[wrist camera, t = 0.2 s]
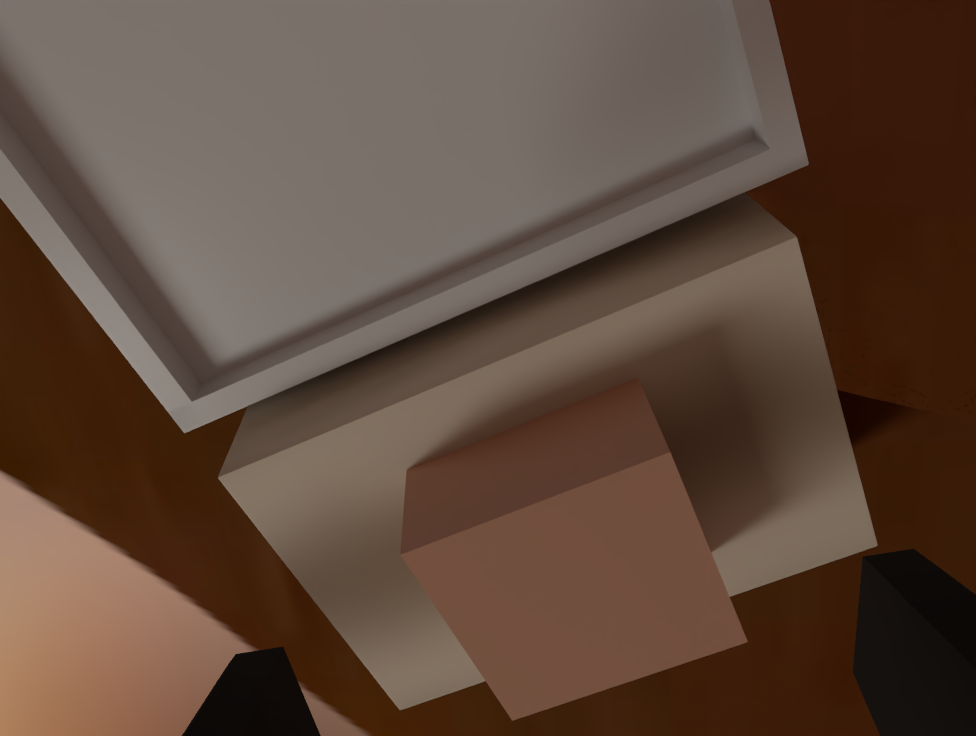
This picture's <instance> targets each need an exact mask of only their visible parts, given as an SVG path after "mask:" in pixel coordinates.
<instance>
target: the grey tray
mask: <svg viewBox="0 0 976 736" xmlns="http://www.w3.org/2000/svg"><path fill="white" fill-rule="evenodd" d="M807 165H809V163H808V159H807V155H806V151H805V146H804V142H803V138H802V134H801V130H800V126H799V122H798V117H797V113H796V109H795V105H794V101H793V97H792V93H791V89H790V84H789V80H788V76H787V72H786V68H785V64H784V60H783V55H782V51H781V47H780V43H779V39H778V35H777V31H776V26H775V22H774V18H773V14H772V10H771V6H770V2H769V0H0V198H1V199H2V200H3V202H4V203H5V204H6V205H7V207H8V208H9V209H10V210H11V212H12V213H13V214H14V216H15V217H16V218H17V219H18V221H19V222H20V223H21V225H22V226H23V227H24V228H25V230H26V231H27V232H28V234H29V235H30V236H31V237H32V239H33V240H34V241H35V242H36V244H37V245H38V246H39V248H40V249H41V250H42V251H43V253H44V254H45V255H46V257H47V258H48V259H49V260H50V262H51V263H52V264H53V266H54V267H55V268H56V269H57V271H58V272H59V273H60V274H61V276H62V277H63V278H64V280H65V281H66V282H67V283H68V285H69V286H70V287H71V289H72V290H73V291H74V292H75V294H76V295H77V296H78V298H79V299H80V300H81V301H82V303H83V304H84V305H85V306H86V308H87V309H88V310H89V312H90V313H91V314H92V315H93V317H94V318H95V319H96V321H97V322H98V323H99V324H100V326H101V327H102V328H103V329H104V331H105V332H106V333H107V335H108V336H109V337H110V338H111V340H112V341H113V342H114V344H115V345H116V346H117V347H118V349H119V350H120V351H121V353H122V354H123V355H124V356H125V358H126V359H127V360H128V361H129V363H130V364H131V365H132V367H133V368H134V369H135V370H136V372H137V373H138V374H139V376H140V377H141V378H142V379H143V381H144V382H145V383H146V385H147V386H148V387H149V388H150V390H151V391H152V392H153V393H154V395H155V396H156V397H157V399H158V400H159V401H160V402H161V404H162V405H163V406H164V408H165V409H166V410H167V411H168V413H169V414H170V415H171V416H172V418H173V419H174V420H175V422H176V423H177V424H178V425H179V427H180V428H181V429H182V431H183V432H184V433H186V432H188V431H191V430H193V429H195V428H198V427H200V426H202V425H205V424H207V423H209V422H212V421H214V420H216V419H219V418H221V417H223V416H225V415H228V414H230V413H232V412H235V411H237V410H239V409H242V408H244V407H246V406H249V405H251V404H253V403H256V402H258V401H260V400H263V399H265V398H267V397H270V396H272V395H274V394H277V393H279V392H281V391H284V390H286V389H288V388H291V387H293V386H295V385H298V384H300V383H302V382H304V381H307V380H309V379H311V378H314V377H316V376H318V375H321V374H323V373H325V372H328V371H330V370H332V369H335V368H337V367H339V366H342V365H344V364H346V363H349V362H351V361H353V360H356V359H358V358H360V357H363V356H365V355H367V354H370V353H372V352H374V351H377V350H379V349H381V348H384V347H386V346H388V345H390V344H393V343H395V342H397V341H400V340H402V339H404V338H407V337H409V336H411V335H414V334H416V333H418V332H421V331H423V330H425V329H428V328H430V327H432V326H435V325H437V324H439V323H442V322H444V321H446V320H449V319H451V318H453V317H456V316H458V315H460V314H463V313H465V312H467V311H470V310H472V309H474V308H476V307H479V306H481V305H483V304H486V303H488V302H490V301H493V300H495V299H497V298H500V297H502V296H504V295H507V294H509V293H511V292H514V291H516V290H518V289H521V288H523V287H525V286H528V285H530V284H532V283H535V282H537V281H539V280H542V279H544V278H546V277H549V276H551V275H553V274H556V273H558V272H560V271H562V270H565V269H567V268H569V267H572V266H574V265H576V264H579V263H581V262H583V261H586V260H588V259H590V258H593V257H595V256H597V255H600V254H602V253H604V252H607V251H609V250H611V249H614V248H616V247H618V246H621V245H623V244H625V243H628V242H630V241H632V240H635V239H637V238H639V237H642V236H644V235H646V234H648V233H651V232H653V231H655V230H658V229H660V228H662V227H665V226H667V225H669V224H672V223H674V222H676V221H679V220H681V219H683V218H686V217H688V216H690V215H693V214H695V213H697V212H700V211H702V210H704V209H707V208H709V207H711V206H714V205H716V204H718V203H721V202H723V201H725V200H728V199H730V198H732V197H734V196H737V195H739V194H741V193H744V192H746V191H748V190H751V189H753V188H755V187H758V186H760V185H762V184H765V183H767V182H769V181H772V180H774V179H776V178H779V177H781V176H783V175H786V174H788V173H790V172H793V171H795V170H797V169H800V168H802V167H804V166H807Z"/></svg>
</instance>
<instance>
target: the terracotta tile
mask: <svg viewBox="0 0 976 736" xmlns="http://www.w3.org/2000/svg"><path fill="white" fill-rule="evenodd" d="M400 555H401V557H402V558H403V560H404V561H405V563H406V564H407V566H408V567H409V569H410V570H411V572H412V573H413V574H414V576H415V577H416V579H417V580H418V582H419V583H420V585H421V586H422V588H423V589H424V591H425V592H426V594H427V595H428V597H429V598H430V600H431V601H432V603H433V604H434V605H435V607H436V608H437V610H438V611H439V613H440V614H441V616H442V617H443V619H444V620H445V622H446V623H447V625H448V626H449V628H450V629H451V631H452V632H453V634H454V635H455V636H456V638H457V639H458V641H459V642H460V644H461V645H462V647H463V648H464V650H465V651H466V653H467V654H468V656H469V657H470V659H471V660H472V662H473V663H474V665H475V666H476V668H477V669H478V670H479V672H480V673H481V675H482V676H483V678H484V679H485V681H486V682H487V684H488V685H489V687H490V688H491V690H492V691H493V693H494V694H495V696H496V697H497V699H498V700H499V701H500V703H501V704H502V706H503V707H504V709H505V710H506V712H507V713H508V715H509V716H510V718H511V719H512V721H513V720H516V719H519V718H522V717H525V716H528V715H531V714H534V713H537V712H540V711H543V710H546V709H549V708H552V707H555V706H558V705H561V704H564V703H567V702H570V701H573V700H576V699H578V698H581V697H584V696H587V695H590V694H593V693H596V692H599V691H602V690H605V689H608V688H611V687H614V686H617V685H620V684H623V683H626V682H629V681H632V680H635V679H638V678H641V677H644V676H647V675H650V674H653V673H656V672H659V671H662V670H665V669H668V668H671V667H674V666H677V665H680V664H683V663H686V662H689V661H692V660H695V659H698V658H701V657H704V656H707V655H710V654H713V653H716V652H719V651H722V650H725V649H728V648H731V647H734V646H737V645H740V644H743V643H746V642H748V641H747V639H746V637H745V634H744V632H743V629H742V627H741V624H740V622H739V619H738V617H737V614H736V612H735V610H734V607H733V605H732V602H731V600H730V597H729V595H728V592H727V590H726V587H725V585H724V583H723V580H722V578H721V575H720V573H719V570H718V568H717V565H716V563H715V560H714V558H713V556H712V553H711V551H710V548H709V546H708V543H707V541H706V538H705V536H704V533H703V531H702V528H701V526H700V524H699V521H698V519H697V516H696V514H695V511H694V509H693V506H692V504H691V501H690V499H689V497H688V494H687V492H686V489H685V487H684V484H683V482H682V479H681V477H680V474H679V472H678V470H677V467H676V465H675V462H674V460H673V457H672V455H671V452H670V450H669V448H668V445H667V443H666V441H665V439H664V436H663V434H662V432H661V429H660V427H659V425H658V422H657V420H656V418H655V416H654V413H653V411H652V409H651V406H650V404H649V402H648V400H647V397H646V395H645V393H644V390H643V388H642V386H641V383H640V381H639V379H638V378H635V379H633V380H630V381H628V382H625V383H623V384H620V385H618V386H615V387H613V388H610V389H608V390H605V391H603V392H600V393H598V394H595V395H593V396H590V397H588V398H585V399H583V400H580V401H578V402H575V403H573V404H570V405H568V406H565V407H563V408H560V409H558V410H555V411H553V412H550V413H548V414H545V415H543V416H540V417H538V418H535V419H533V420H530V421H528V422H525V423H523V424H520V425H518V426H515V427H513V428H510V429H508V430H505V431H503V432H500V433H498V434H495V435H493V436H490V437H488V438H485V439H483V440H480V441H478V442H475V443H473V444H470V445H468V446H465V447H463V448H460V449H458V450H455V451H453V452H450V453H448V454H445V455H443V456H440V457H438V458H435V459H432V460H430V461H427V462H425V463H422V464H420V465H417V466H415V467H412V468H410V469H407V471H406V484H405V498H404V511H403V524H402V538H401V551H400Z"/></svg>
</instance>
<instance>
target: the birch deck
mask: <svg viewBox="0 0 976 736" xmlns="http://www.w3.org/2000/svg"><path fill="white" fill-rule="evenodd" d="M635 378H638V379H639V381H640V383H641V386H642V388H643V390H644V393H645V395H646V397H647V400H648V402H649V404H650V406H651V409H652V411H653V413H654V416H655V418H656V420H657V422H658V425H659V427H660V429H661V432H662V434H663V436H664V439H665V441H666V443H667V445H668V448H669V450H670V452H671V455H672V457H673V460H674V462H675V465H676V467H677V470H678V472H679V474H680V477H681V479H682V482H683V484H684V487H685V489H686V492H687V494H688V497H689V499H690V501H691V504H692V506H693V509H694V511H695V514H696V516H697V519H698V521H699V524H700V526H701V528H702V531H703V533H704V536H705V538H706V541H707V543H708V546H709V548H710V551H711V553H712V556H713V558H714V560H715V563H716V565H717V568H718V570H719V573H720V575H721V578H722V580H723V583H724V585H725V587H726V590H727V592H728V595H729V597H730V596H733V595H736V594H739V593H742V592H745V591H748V590H751V589H753V588H756V587H759V586H762V585H765V584H768V583H771V582H774V581H777V580H780V579H782V578H785V577H788V576H791V575H794V574H797V573H800V572H803V571H806V570H809V569H811V568H814V567H817V566H820V565H823V564H826V563H829V562H832V561H835V560H838V559H840V558H843V557H846V556H849V555H852V554H855V553H858V552H861V551H864V550H867V549H869V548H872V547H875V546H878V545H877V542H876V538H875V534H874V530H873V526H872V522H871V519H870V515H869V511H868V507H867V503H866V500H865V496H864V492H863V488H862V484H861V480H860V477H859V473H858V469H857V465H856V461H855V458H854V454H853V450H852V446H851V442H850V438H849V435H848V431H847V427H846V423H845V419H844V416H843V412H842V408H841V404H840V400H839V396H838V393H837V389H836V385H835V381H834V377H833V374H832V370H831V366H830V362H829V358H828V354H827V351H826V347H825V343H824V339H823V335H822V332H821V328H820V324H819V320H818V316H817V312H816V309H815V305H814V301H813V297H812V293H811V290H810V286H809V282H808V278H807V274H806V270H805V267H804V263H803V259H802V255H801V251H800V248H799V244H798V240H797V237H796V236H795V235H794V234H793V233H792V232H790V231H789V230H788V229H787V228H786V227H785V226H783V225H782V224H781V223H780V222H779V221H778V220H776V219H775V218H774V217H773V216H772V215H771V214H769V213H768V212H767V211H766V210H765V209H764V208H762V207H761V206H760V205H759V204H758V203H756V202H755V201H754V200H753V199H752V198H751V197H749V196H748V195H747V194H746V193H745V192H744V193H741V194H739V195H737V196H734V197H732V198H730V199H728V200H725V201H723V202H721V203H718V204H716V205H714V206H711V207H709V208H707V209H704V210H702V211H700V212H697V213H695V214H693V215H690V216H688V217H686V218H683V219H681V220H679V221H676V222H674V223H672V224H669V225H667V226H665V227H662V228H660V229H658V230H655V231H653V232H651V233H648V234H646V235H644V236H642V237H639V238H637V239H635V240H632V241H630V242H628V243H625V244H623V245H621V246H618V247H616V248H614V249H611V250H609V251H607V252H604V253H602V254H600V255H597V256H595V257H593V258H590V259H588V260H586V261H583V262H581V263H579V264H576V265H574V266H572V267H569V268H567V269H565V270H562V271H560V272H558V273H556V274H553V275H551V276H549V277H546V278H544V279H542V280H539V281H537V282H535V283H532V284H530V285H528V286H525V287H523V288H521V289H518V290H516V291H514V292H511V293H509V294H507V295H504V296H502V297H500V298H497V299H495V300H493V301H490V302H488V303H486V304H483V305H481V306H479V307H476V308H474V309H472V310H470V311H467V312H465V313H463V314H460V315H458V316H456V317H453V318H451V319H449V320H446V321H444V322H442V323H439V324H437V325H435V326H432V327H430V328H428V329H425V330H423V331H421V332H418V333H416V334H414V335H411V336H409V337H407V338H404V339H402V340H400V341H397V342H395V343H393V344H390V345H388V346H386V347H384V348H381V349H379V350H377V351H374V352H372V353H370V354H367V355H365V356H363V357H360V358H358V359H356V360H353V361H351V362H349V363H346V364H344V365H342V366H339V367H337V368H335V369H332V370H330V371H328V372H325V373H323V374H321V375H318V376H316V377H314V378H311V379H309V380H307V381H304V382H302V383H300V384H298V385H295V386H293V387H291V388H288V389H286V390H284V391H281V392H279V393H277V394H274V395H272V396H270V397H267V398H265V399H263V400H260V401H258V402H256V403H253V404H251V405H249V406H248V407H247V410H246V412H245V415H244V417H243V419H242V422H241V424H240V426H239V429H238V431H237V433H236V436H235V438H234V440H233V443H232V445H231V448H230V450H229V452H228V455H227V457H226V459H225V462H224V464H223V466H222V469H221V471H220V474H219V476H218V479H219V480H220V481H221V482H222V484H223V485H224V486H225V488H226V489H227V490H228V491H229V493H230V494H231V495H232V496H233V498H234V499H235V500H236V502H237V503H238V504H239V505H240V507H241V508H242V509H243V511H244V512H245V513H246V514H247V516H248V517H249V518H250V519H251V521H252V522H253V523H254V525H255V526H256V527H257V528H258V530H259V531H260V532H261V534H262V535H263V536H264V537H265V539H266V540H267V541H268V542H269V544H270V545H271V546H272V548H273V549H274V550H275V551H276V553H277V554H278V555H279V557H280V558H281V559H282V560H283V562H284V563H285V564H286V565H287V567H288V568H289V569H290V571H291V572H292V573H293V574H294V576H295V577H296V578H297V580H298V581H299V582H300V583H301V585H302V586H303V587H304V588H305V590H306V591H307V592H308V594H309V595H310V596H311V597H312V599H313V600H314V601H315V603H316V604H317V605H318V606H319V608H320V609H321V610H322V611H323V613H324V614H325V615H326V617H327V618H328V619H329V620H330V622H331V623H332V624H333V626H334V627H335V628H336V629H337V631H338V632H339V633H340V634H341V636H342V637H343V638H344V640H345V641H346V642H347V643H348V645H349V646H350V647H351V649H352V650H353V651H354V652H355V654H356V655H357V656H358V657H359V659H360V660H361V661H362V663H363V664H364V665H365V666H366V668H367V669H368V670H369V671H370V673H371V674H372V675H373V677H374V678H375V679H376V680H377V682H378V683H379V684H380V686H381V687H382V688H383V689H384V691H385V692H386V693H387V694H388V696H389V697H390V698H391V700H392V701H393V702H394V703H395V705H396V706H397V707H398V709H399V710H403V709H406V708H408V707H411V706H414V705H417V704H420V703H423V702H426V701H429V700H432V699H435V698H437V697H440V696H443V695H446V694H449V693H452V692H455V691H458V690H461V689H464V688H466V687H469V686H472V685H475V684H478V683H481V682H484V681H485V679H484V678H483V676H482V675H481V673H480V672H479V670H478V669H477V668H476V666H475V665H474V663H473V662H472V660H471V659H470V657H469V656H468V654H467V653H466V651H465V650H464V648H463V647H462V645H461V644H460V642H459V641H458V639H457V638H456V636H455V635H454V634H453V632H452V631H451V629H450V628H449V626H448V625H447V623H446V622H445V620H444V619H443V617H442V616H441V614H440V613H439V611H438V610H437V608H436V607H435V605H434V604H433V603H432V601H431V600H430V598H429V597H428V595H427V594H426V592H425V591H424V589H423V588H422V586H421V585H420V583H419V582H418V580H417V579H416V577H415V576H414V574H413V573H412V572H411V570H410V569H409V567H408V566H407V564H406V563H405V561H404V560H403V558H402V557H401V555H400V551H401V538H402V524H403V511H404V498H405V484H406V471H407V469H410V468H412V467H415V466H417V465H420V464H422V463H425V462H427V461H430V460H432V459H435V458H438V457H440V456H443V455H445V454H448V453H450V452H453V451H455V450H458V449H460V448H463V447H465V446H468V445H470V444H473V443H475V442H478V441H480V440H483V439H485V438H488V437H490V436H493V435H495V434H498V433H500V432H503V431H505V430H508V429H510V428H513V427H515V426H518V425H520V424H523V423H525V422H528V421H530V420H533V419H535V418H538V417H540V416H543V415H545V414H548V413H550V412H553V411H555V410H558V409H560V408H563V407H565V406H568V405H570V404H573V403H575V402H578V401H580V400H583V399H585V398H588V397H590V396H593V395H595V394H598V393H600V392H603V391H605V390H608V389H610V388H613V387H615V386H618V385H620V384H623V383H625V382H628V381H630V380H633V379H635Z"/></svg>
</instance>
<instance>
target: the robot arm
mask: <svg viewBox="0 0 976 736" xmlns="http://www.w3.org/2000/svg"><path fill="white" fill-rule="evenodd" d="M853 673H854V676H855V678H856V680H857V683H858V685H859V687H860V690H861V692H862V694H863V697H864V699H865V701H866V704H867V706H868V709H869V711H870V713H871V716H872V718H873V720H874V722H875V725H876V727H877V729H878V731H879V733H880V736H976V595H975V594H974V593H973V592H971V591H970V590H969V589H967V588H966V587H965V586H963V585H962V584H961V583H959V582H958V581H956V580H955V579H954V578H952V577H951V576H950V575H948V574H947V573H946V572H944V571H943V570H942V569H940V568H939V567H938V566H936V565H935V564H934V563H932V562H931V561H929V560H928V559H927V558H925V557H924V556H923V555H921V554H920V553H919V552H917V551H916V550H914V549H910V550H904V551H897V552H891V553H884V554H878V555H871V556H865V557H863V561H862V572H861V584H860V595H859V607H858V619H857V630H856V642H855V653H854V665H853ZM182 736H320V734H319V731H318V729H317V726H316V724H315V722H314V719H313V717H312V715H311V712H310V710H309V707H308V705H307V703H306V700H305V698H304V695H303V693H302V691H301V688H300V686H299V684H298V681H297V679H296V676H295V674H294V672H293V669H292V667H291V665H290V662H289V660H288V657H287V655H286V653H285V650H284V648H283V647H279V648H272V649H266V650H259V651H253V652H247V653H240V654H236V655H235V656H234V657H233V659H232V660H231V661H230V663H229V664H228V666H227V667H226V669H225V670H224V672H223V673H222V675H221V676H220V678H219V679H218V681H217V682H216V684H215V686H214V687H213V689H212V690H211V692H210V693H209V695H208V696H207V698H206V699H205V701H204V703H203V704H202V706H201V707H200V709H199V710H198V712H197V713H196V715H195V717H194V718H193V720H192V721H191V723H190V724H189V726H188V727H187V729H186V731H185V732H184V734H183V735H182Z"/></svg>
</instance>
